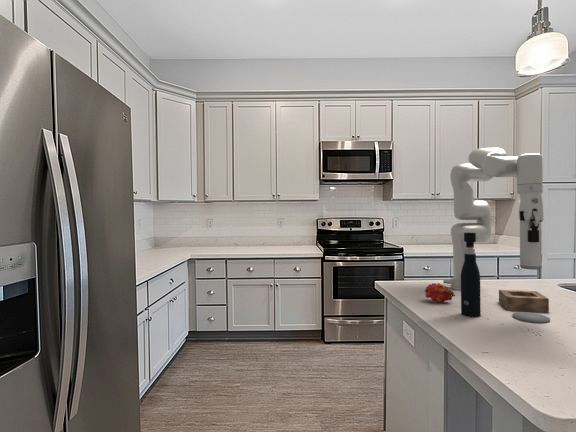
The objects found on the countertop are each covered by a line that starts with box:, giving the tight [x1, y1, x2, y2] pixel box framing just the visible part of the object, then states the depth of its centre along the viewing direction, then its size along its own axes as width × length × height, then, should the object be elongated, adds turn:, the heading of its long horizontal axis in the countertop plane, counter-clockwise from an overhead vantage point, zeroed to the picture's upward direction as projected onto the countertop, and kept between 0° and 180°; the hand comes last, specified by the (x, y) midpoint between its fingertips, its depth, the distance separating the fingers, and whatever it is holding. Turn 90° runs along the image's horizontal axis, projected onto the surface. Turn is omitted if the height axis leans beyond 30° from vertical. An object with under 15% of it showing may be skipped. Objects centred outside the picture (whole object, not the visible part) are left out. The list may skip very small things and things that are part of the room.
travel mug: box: [519, 211, 543, 270], centre depth 127 cm, size 6×7×20 cm
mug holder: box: [498, 289, 550, 313], centre depth 142 cm, size 13×13×5 cm
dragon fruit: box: [424, 282, 456, 304], centre depth 151 cm, size 8×8×12 cm
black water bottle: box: [460, 233, 482, 318], centre depth 133 cm, size 6×6×30 cm
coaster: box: [511, 311, 551, 324], centre depth 127 cm, size 11×11×1 cm
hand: (529, 240), depth 127 cm, fingers closed on travel mug, 6 cm apart
